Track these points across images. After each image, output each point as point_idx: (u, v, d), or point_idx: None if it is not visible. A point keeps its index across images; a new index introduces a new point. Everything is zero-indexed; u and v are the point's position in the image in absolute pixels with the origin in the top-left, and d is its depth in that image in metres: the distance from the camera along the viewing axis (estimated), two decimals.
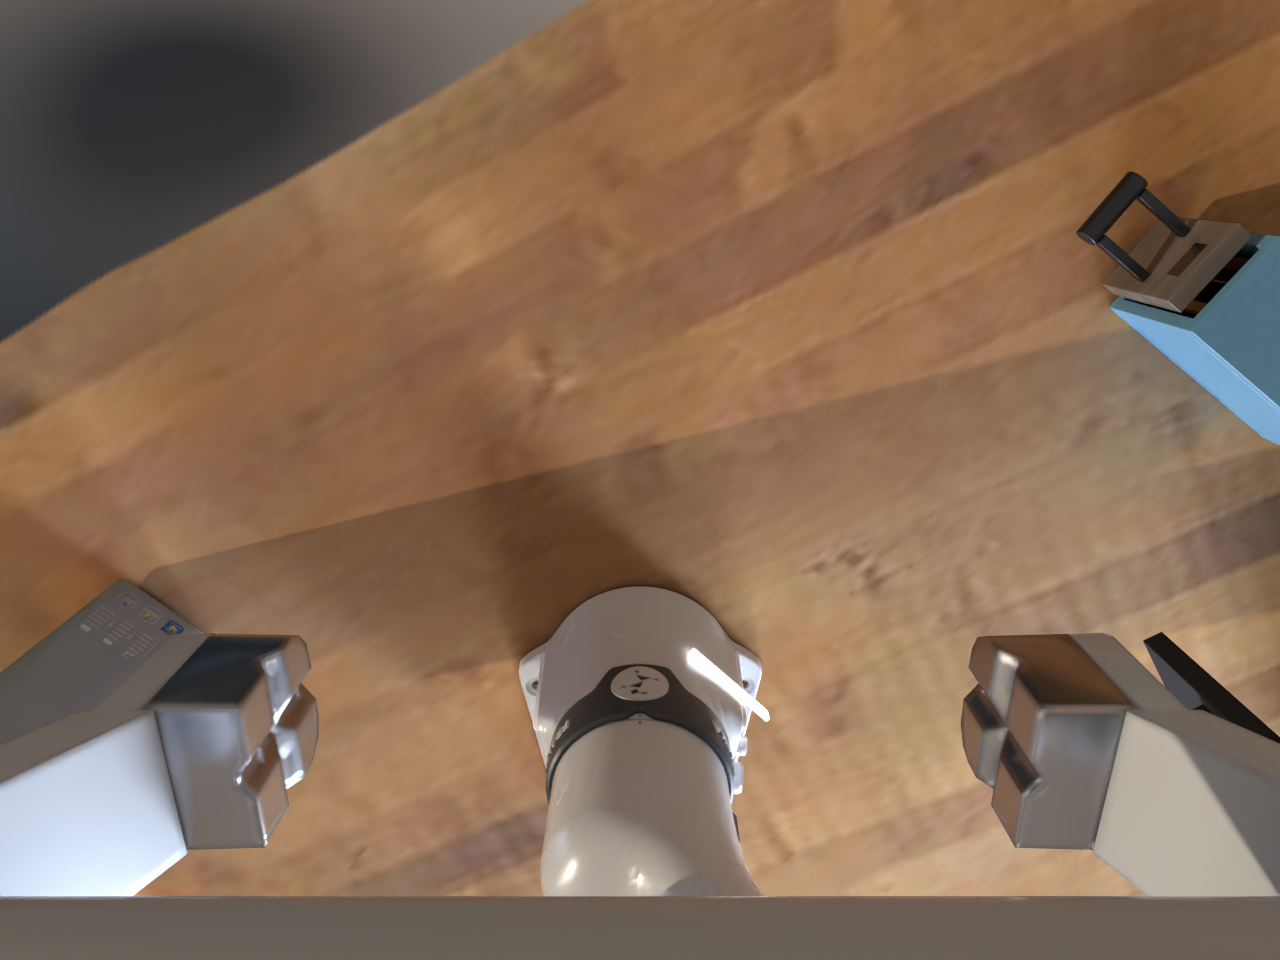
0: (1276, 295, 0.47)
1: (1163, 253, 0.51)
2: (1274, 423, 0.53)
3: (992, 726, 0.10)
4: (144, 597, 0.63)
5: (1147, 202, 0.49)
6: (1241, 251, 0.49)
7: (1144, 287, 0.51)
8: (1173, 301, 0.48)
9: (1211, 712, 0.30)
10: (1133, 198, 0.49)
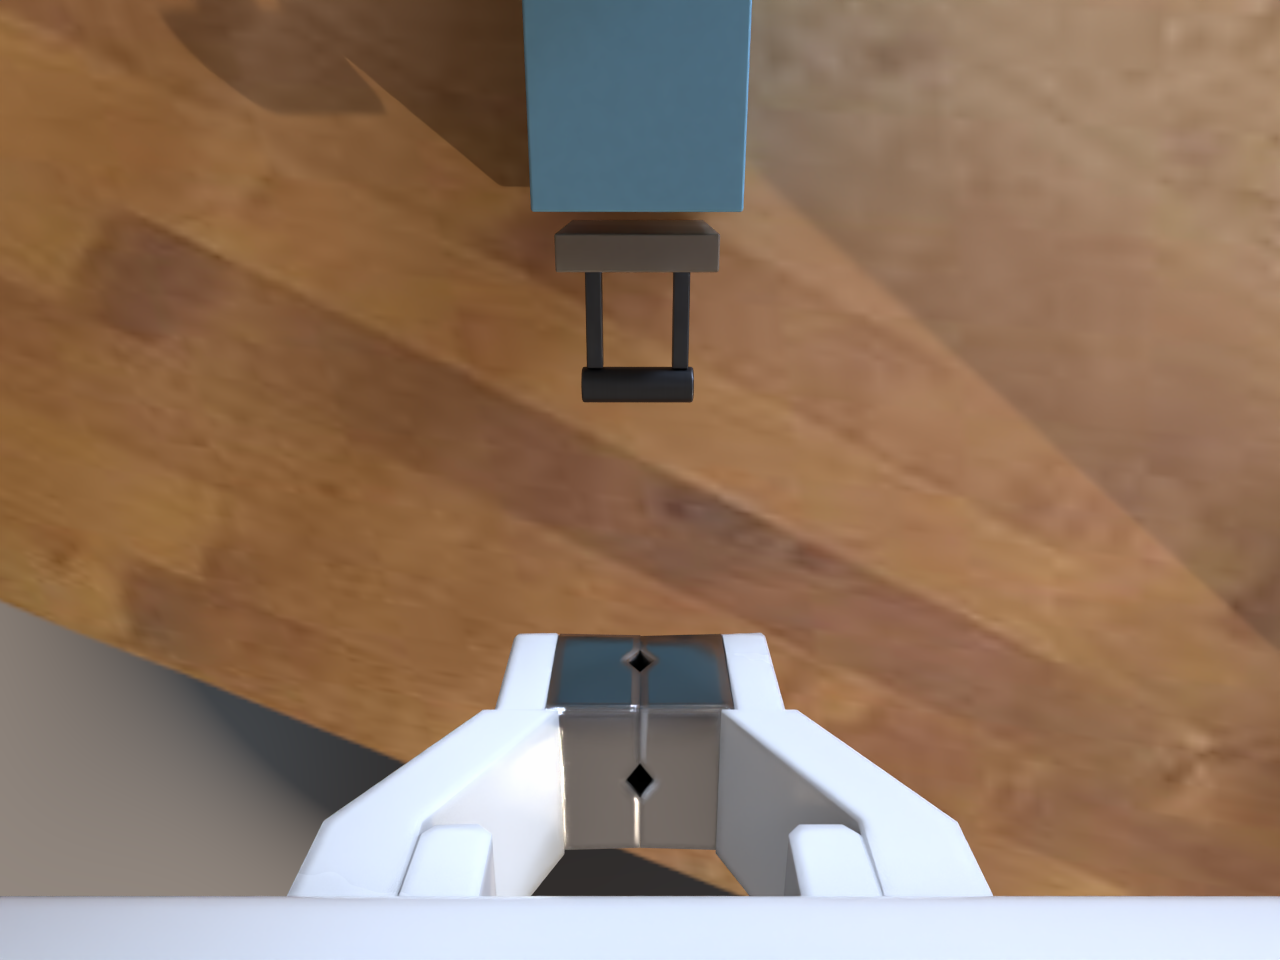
0: (605, 130, 0.25)
1: None
2: None
3: None
4: None
5: (600, 352, 0.31)
6: None
7: None
8: (713, 261, 0.27)
9: None
10: (610, 379, 0.31)
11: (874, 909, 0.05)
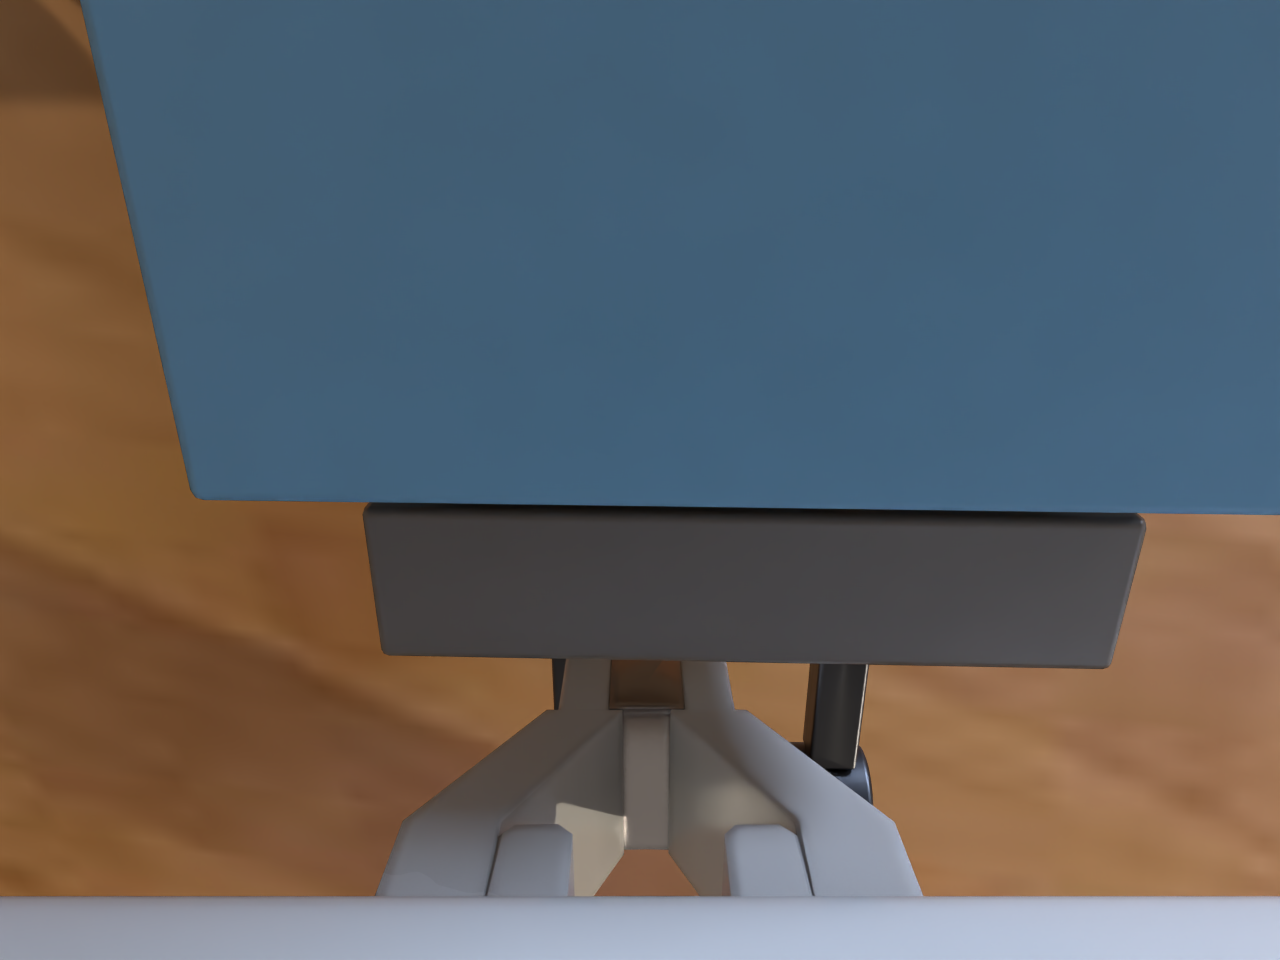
0: (590, 42, 0.04)
1: None
2: None
3: None
4: None
5: None
6: None
7: None
8: (1095, 630, 0.06)
9: None
10: None
11: (874, 909, 0.05)
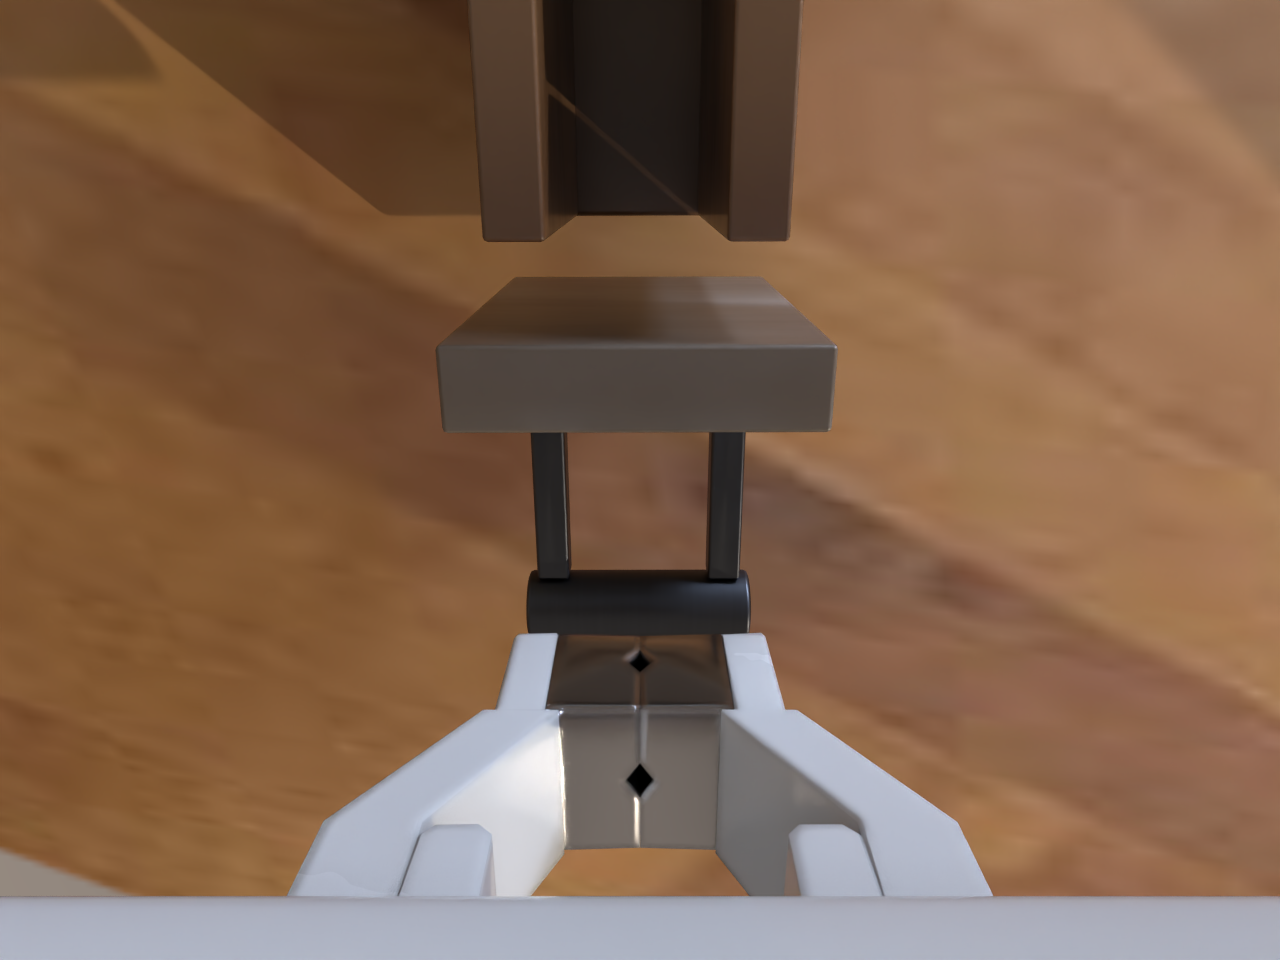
0: None
1: None
2: None
3: None
4: None
5: (565, 549, 0.16)
6: None
7: None
8: (819, 408, 0.11)
9: None
10: (585, 602, 0.16)
11: (874, 909, 0.05)
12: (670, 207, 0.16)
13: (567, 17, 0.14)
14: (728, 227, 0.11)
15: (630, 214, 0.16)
